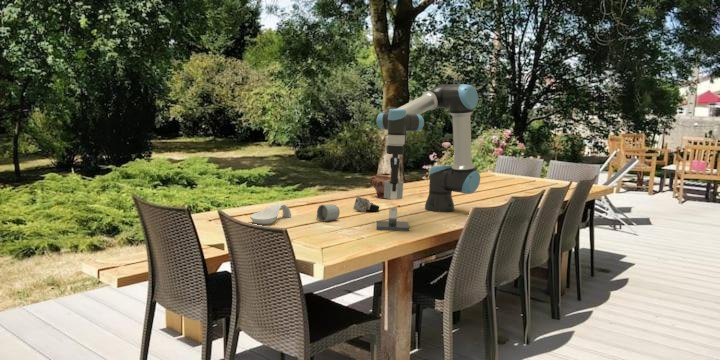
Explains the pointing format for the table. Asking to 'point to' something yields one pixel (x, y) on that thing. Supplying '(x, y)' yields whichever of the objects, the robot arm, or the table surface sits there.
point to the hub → (388, 190)
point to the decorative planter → (380, 183)
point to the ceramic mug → (328, 212)
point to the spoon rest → (270, 214)
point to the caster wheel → (364, 205)
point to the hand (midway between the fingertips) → (393, 197)
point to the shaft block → (392, 222)
